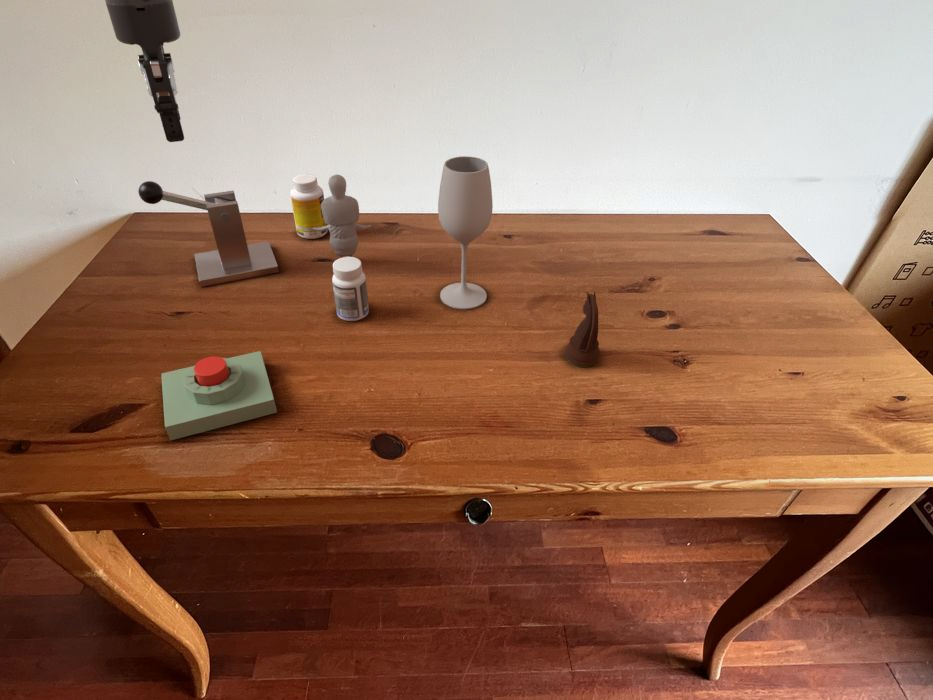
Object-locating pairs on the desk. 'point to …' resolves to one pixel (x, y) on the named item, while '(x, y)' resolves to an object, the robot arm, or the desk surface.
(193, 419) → the button block
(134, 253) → the desk surface
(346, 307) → the pill bottle
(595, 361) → the chess piece
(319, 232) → the supplement bottle
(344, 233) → the figurine
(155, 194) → the lever handle
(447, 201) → the wineglass
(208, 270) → the lever stand
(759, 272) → the desk surface
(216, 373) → the red button
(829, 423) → the desk surface
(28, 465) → the desk surface
